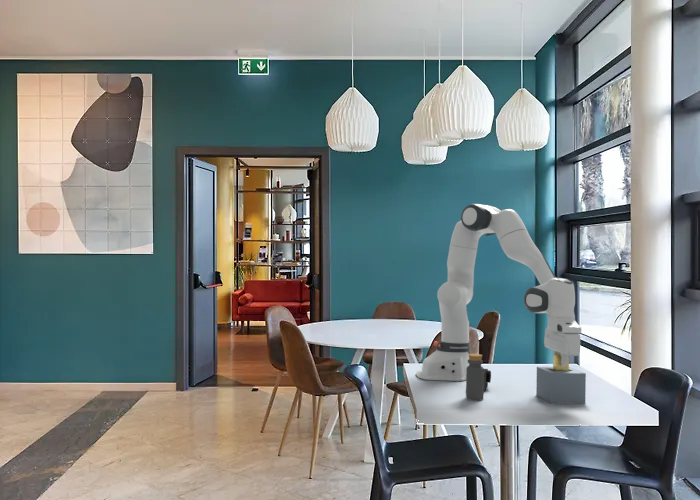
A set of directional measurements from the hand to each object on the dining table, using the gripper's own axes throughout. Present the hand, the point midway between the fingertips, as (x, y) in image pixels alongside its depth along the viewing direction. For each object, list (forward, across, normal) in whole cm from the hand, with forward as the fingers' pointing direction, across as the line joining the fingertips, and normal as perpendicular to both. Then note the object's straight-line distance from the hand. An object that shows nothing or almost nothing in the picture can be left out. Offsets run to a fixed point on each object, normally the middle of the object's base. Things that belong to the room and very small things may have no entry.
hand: (560, 364), depth 202 cm
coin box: (+12, 0, 0) cm, 12 cm away
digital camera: (+12, -15, -23) cm, 30 cm away
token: (+3, 0, 0) cm, 3 cm away
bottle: (+12, -1, -30) cm, 32 cm away
